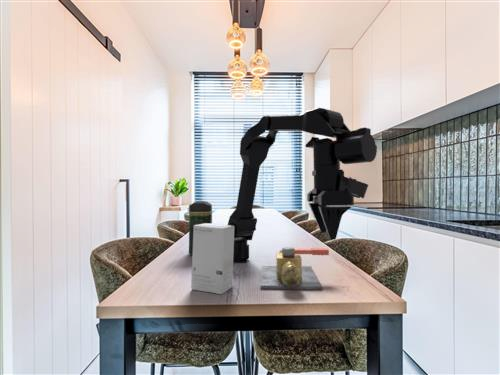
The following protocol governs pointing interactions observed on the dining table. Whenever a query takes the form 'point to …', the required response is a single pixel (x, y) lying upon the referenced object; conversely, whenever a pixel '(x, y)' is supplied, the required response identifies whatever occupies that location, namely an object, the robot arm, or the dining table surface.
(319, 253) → the lever
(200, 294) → the dining table surface
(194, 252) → the skincare box
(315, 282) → the valve body
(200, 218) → the coffee jar
